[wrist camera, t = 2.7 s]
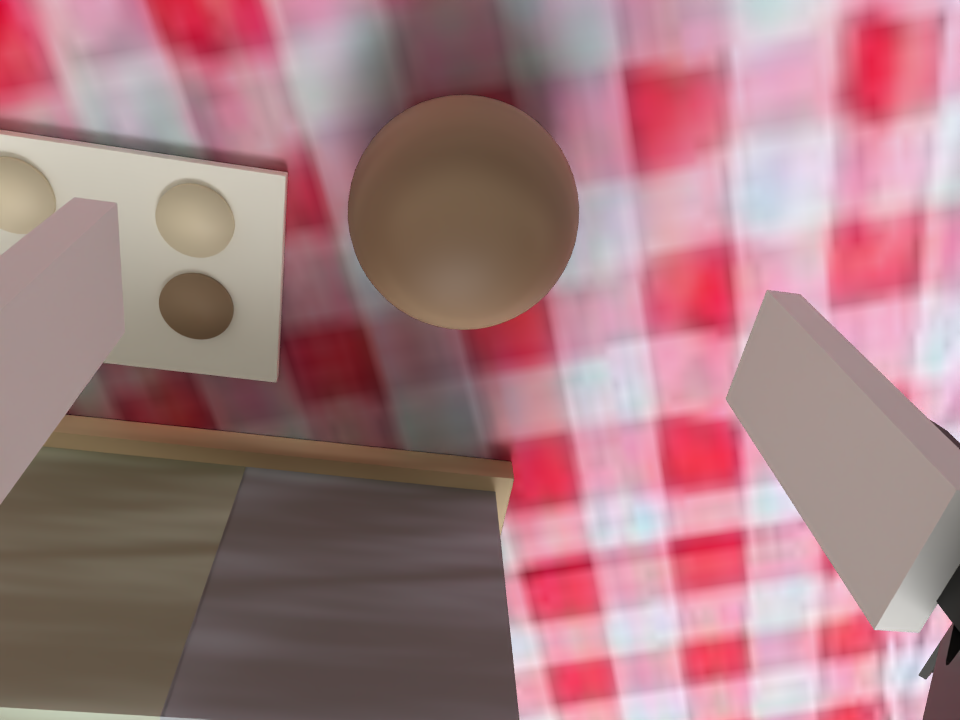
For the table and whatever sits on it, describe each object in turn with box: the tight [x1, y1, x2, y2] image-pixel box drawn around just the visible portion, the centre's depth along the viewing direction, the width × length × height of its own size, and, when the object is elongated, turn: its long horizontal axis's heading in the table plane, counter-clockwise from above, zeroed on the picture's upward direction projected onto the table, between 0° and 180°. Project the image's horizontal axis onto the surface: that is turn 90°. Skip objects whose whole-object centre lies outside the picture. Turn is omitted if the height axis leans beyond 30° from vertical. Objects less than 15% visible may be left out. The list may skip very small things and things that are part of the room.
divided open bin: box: [0, 415, 519, 720], centre depth 25 cm, size 10×18×10 cm, turn 80°
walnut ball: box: [348, 95, 579, 330], centre depth 20 cm, size 6×6×6 cm
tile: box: [0, 130, 288, 383], centre depth 23 cm, size 7×10×1 cm
